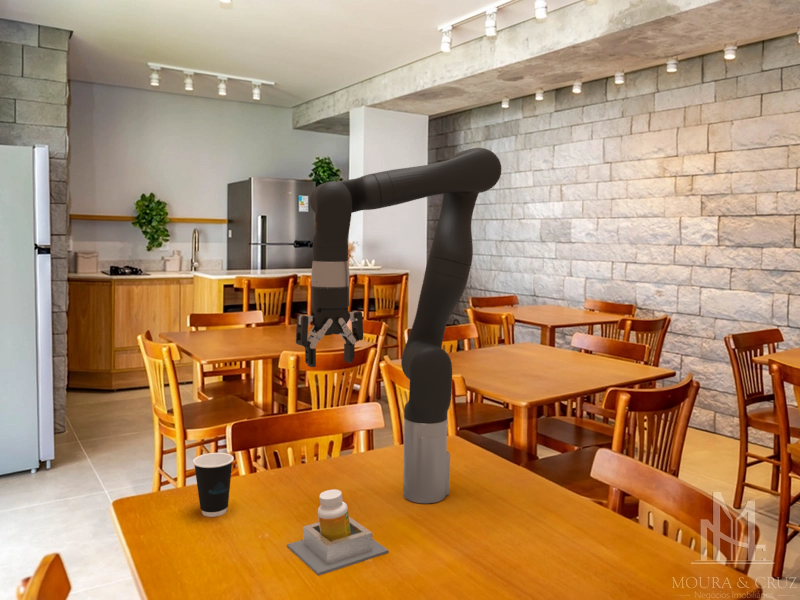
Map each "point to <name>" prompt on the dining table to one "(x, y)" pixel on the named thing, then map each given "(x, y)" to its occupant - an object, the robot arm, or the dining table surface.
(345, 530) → the supplement bottle
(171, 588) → the dining table surface
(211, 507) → the dixie cup
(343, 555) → the socket board
